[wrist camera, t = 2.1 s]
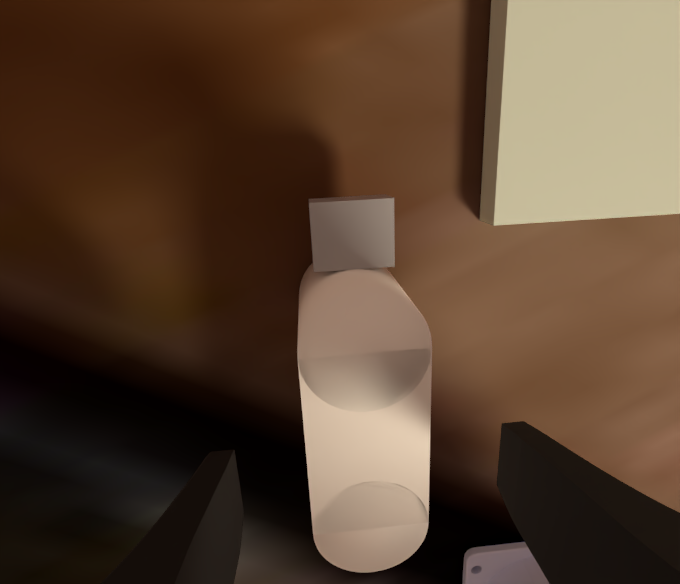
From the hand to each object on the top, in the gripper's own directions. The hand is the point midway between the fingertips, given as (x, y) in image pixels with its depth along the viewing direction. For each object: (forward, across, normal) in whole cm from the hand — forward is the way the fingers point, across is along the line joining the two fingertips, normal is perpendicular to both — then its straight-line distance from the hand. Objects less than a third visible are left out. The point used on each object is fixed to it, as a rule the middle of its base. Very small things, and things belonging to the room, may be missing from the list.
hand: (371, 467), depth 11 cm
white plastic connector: (+6, 0, 0) cm, 6 cm away
